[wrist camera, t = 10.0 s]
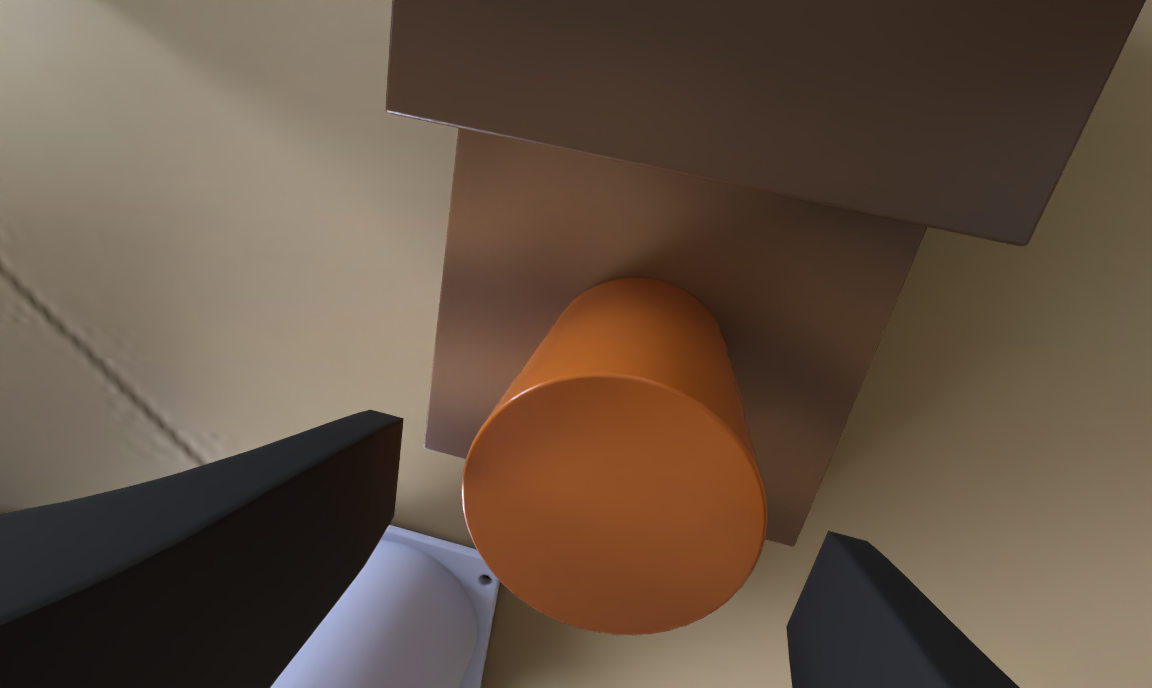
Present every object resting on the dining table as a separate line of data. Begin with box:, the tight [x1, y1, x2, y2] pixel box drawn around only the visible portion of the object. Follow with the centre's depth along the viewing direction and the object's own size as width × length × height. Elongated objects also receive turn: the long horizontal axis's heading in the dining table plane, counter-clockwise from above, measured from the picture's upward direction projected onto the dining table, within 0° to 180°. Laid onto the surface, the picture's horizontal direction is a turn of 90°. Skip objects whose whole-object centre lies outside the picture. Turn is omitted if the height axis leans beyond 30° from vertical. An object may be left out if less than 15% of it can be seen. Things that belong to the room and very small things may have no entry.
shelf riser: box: [386, 0, 1146, 546], centre depth 14 cm, size 16×12×6 cm
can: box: [462, 278, 768, 635], centre depth 13 cm, size 5×5×7 cm
